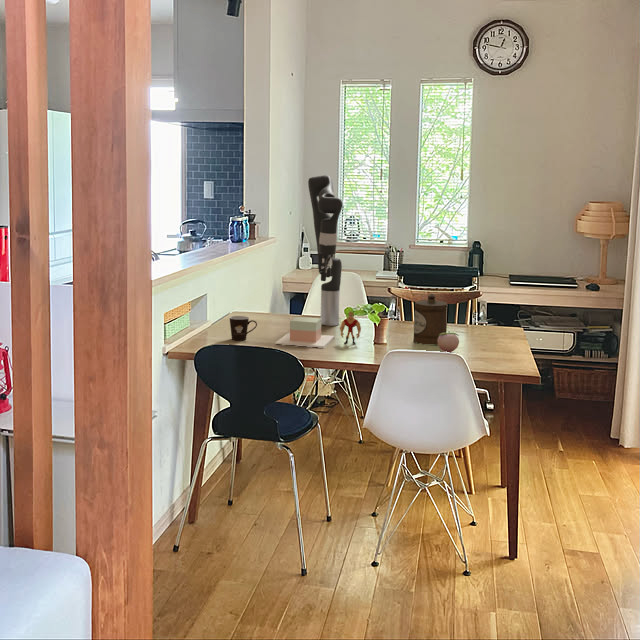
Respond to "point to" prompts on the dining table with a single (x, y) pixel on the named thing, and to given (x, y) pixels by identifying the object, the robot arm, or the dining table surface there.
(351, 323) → the action figure
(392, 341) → the dining table surface
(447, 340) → the decorative fruit
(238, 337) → the coffee mug
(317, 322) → the two-tone green pink block
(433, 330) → the wooden container
